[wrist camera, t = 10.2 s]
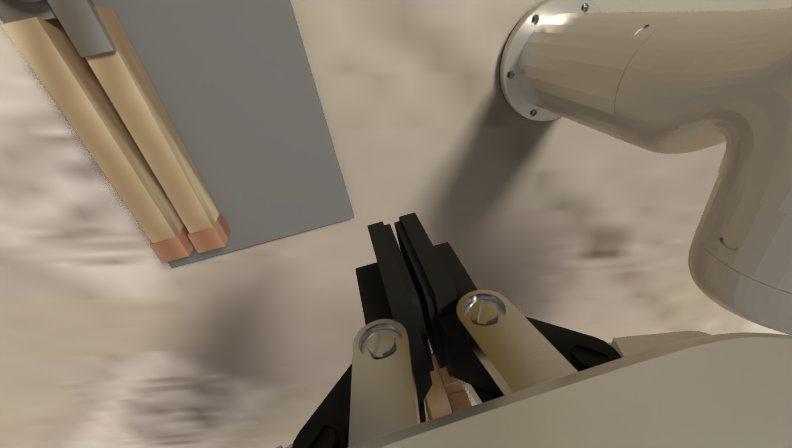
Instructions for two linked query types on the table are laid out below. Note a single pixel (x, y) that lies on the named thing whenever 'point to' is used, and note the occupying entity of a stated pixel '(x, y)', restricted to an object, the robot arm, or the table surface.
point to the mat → (241, 112)
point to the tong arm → (142, 115)
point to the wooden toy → (445, 393)
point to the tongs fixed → (95, 122)
